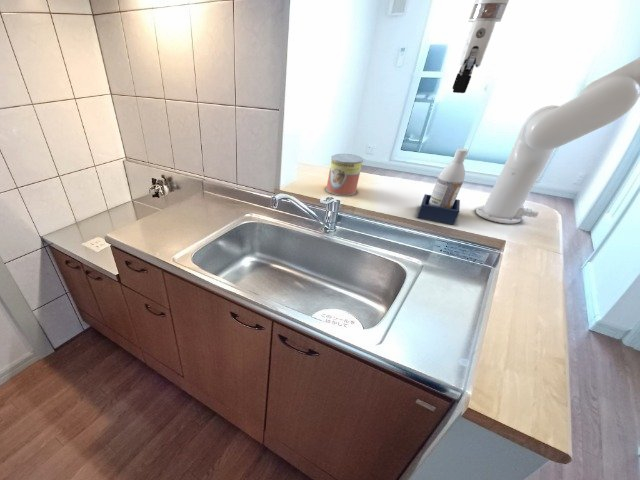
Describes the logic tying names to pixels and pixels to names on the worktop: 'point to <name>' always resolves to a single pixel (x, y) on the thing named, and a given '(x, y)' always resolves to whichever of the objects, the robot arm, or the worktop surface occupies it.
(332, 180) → the canned food
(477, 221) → the worktop surface
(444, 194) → the bath foam
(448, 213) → the holder
